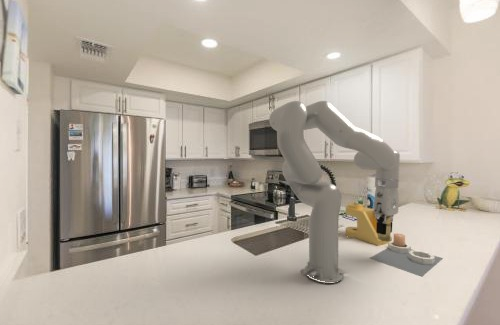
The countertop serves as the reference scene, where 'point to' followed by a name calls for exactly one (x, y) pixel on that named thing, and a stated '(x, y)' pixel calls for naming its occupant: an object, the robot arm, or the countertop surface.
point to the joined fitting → (399, 244)
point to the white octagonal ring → (421, 257)
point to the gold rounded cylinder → (388, 230)
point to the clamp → (364, 224)
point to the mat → (403, 262)
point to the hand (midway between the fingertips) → (384, 232)
